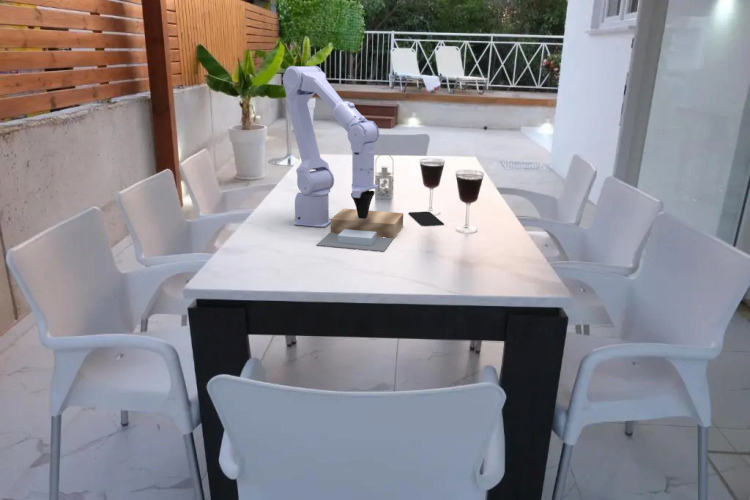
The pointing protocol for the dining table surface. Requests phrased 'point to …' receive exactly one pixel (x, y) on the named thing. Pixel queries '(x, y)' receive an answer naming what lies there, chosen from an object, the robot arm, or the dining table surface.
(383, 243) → the mat
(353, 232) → the tile
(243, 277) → the dining table surface
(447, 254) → the dining table surface
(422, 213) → the smartphone
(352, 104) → the robot arm
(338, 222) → the tan flat wooden block
